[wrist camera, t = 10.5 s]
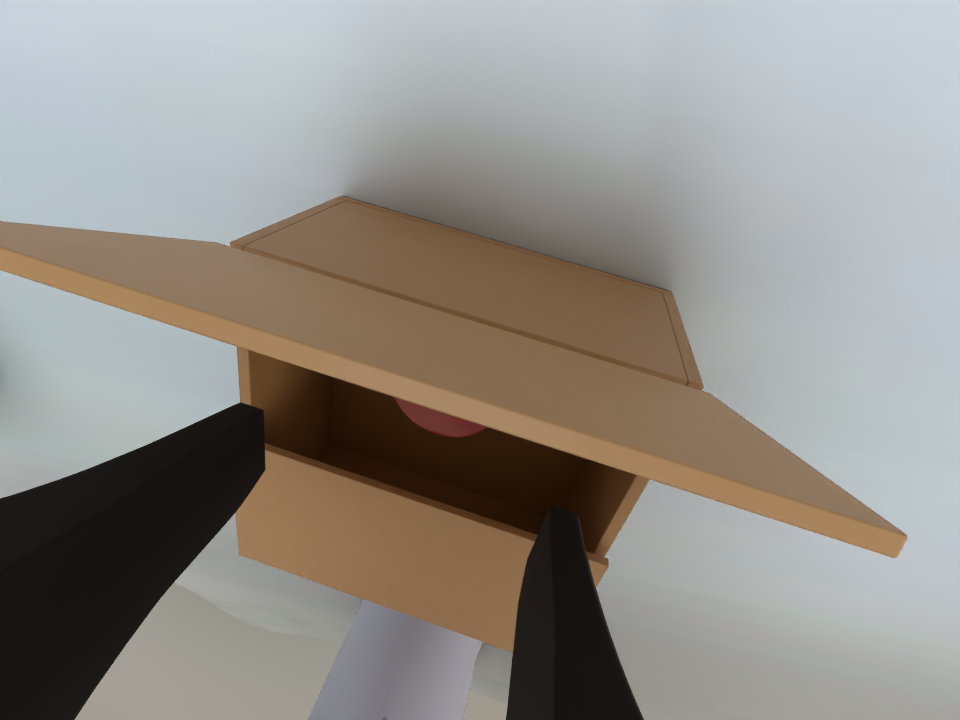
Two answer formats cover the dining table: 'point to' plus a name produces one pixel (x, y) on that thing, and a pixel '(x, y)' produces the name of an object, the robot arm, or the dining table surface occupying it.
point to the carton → (424, 455)
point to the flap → (449, 368)
